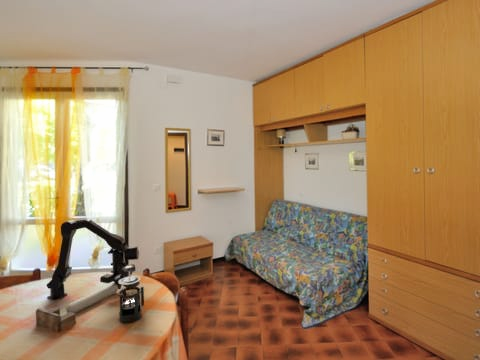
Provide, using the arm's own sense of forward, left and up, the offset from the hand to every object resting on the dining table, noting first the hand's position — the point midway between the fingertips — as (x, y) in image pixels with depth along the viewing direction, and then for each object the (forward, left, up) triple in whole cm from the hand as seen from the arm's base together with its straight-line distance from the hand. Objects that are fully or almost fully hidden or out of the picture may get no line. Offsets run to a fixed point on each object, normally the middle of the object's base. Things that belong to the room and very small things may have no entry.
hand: (119, 289), depth 144 cm
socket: (0, -33, -1) cm, 33 cm away
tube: (-1, -15, -1) cm, 15 cm away
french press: (+26, -17, -1) cm, 31 cm away
